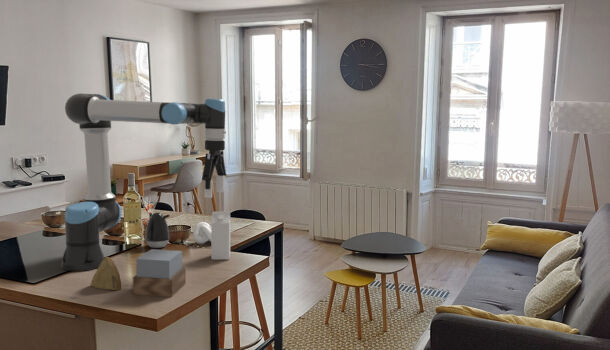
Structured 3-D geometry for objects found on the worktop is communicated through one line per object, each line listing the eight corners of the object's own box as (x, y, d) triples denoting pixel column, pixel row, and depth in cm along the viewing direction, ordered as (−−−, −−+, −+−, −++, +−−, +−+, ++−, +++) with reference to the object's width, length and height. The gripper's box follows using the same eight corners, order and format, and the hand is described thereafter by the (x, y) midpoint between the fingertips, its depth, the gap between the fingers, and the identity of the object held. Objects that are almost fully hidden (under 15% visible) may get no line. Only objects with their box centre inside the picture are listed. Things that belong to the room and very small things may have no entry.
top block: (136, 276, 170) (136, 258, 170) (151, 266, 182) (151, 249, 182) (169, 278, 169) (169, 260, 169) (182, 267, 181) (182, 250, 180)
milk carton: (212, 255, 218) (213, 210, 216) (230, 255, 219) (230, 210, 216) (211, 259, 211) (211, 213, 209) (229, 259, 212) (229, 213, 209)
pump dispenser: (166, 250, 224) (166, 215, 222) (142, 249, 224) (141, 214, 222) (172, 244, 234) (172, 210, 232) (149, 243, 234) (149, 209, 232)
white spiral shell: (189, 245, 232) (189, 225, 231) (196, 239, 244) (196, 220, 243) (214, 246, 232) (215, 226, 231) (220, 239, 244) (220, 220, 243)
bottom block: (133, 295, 171) (133, 277, 170) (149, 282, 184) (149, 265, 183) (172, 297, 169) (172, 279, 169) (185, 284, 182) (185, 267, 181)
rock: (130, 282, 175) (122, 270, 183) (114, 265, 171) (107, 254, 179) (103, 304, 172) (96, 291, 180) (86, 288, 168) (80, 275, 176)
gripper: (213, 141, 188) (212, 200, 191) (234, 138, 212) (233, 190, 215) (193, 141, 189) (193, 199, 192) (216, 137, 214) (215, 189, 216)
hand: (214, 194), depth 203 cm, fingers open, 13 cm apart
